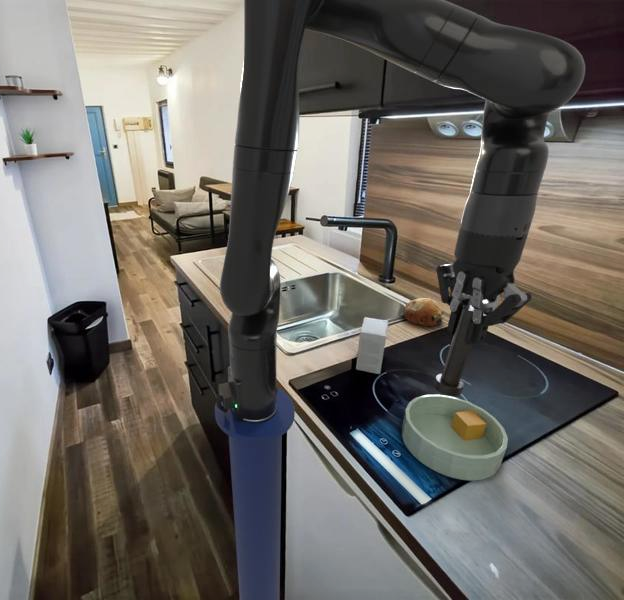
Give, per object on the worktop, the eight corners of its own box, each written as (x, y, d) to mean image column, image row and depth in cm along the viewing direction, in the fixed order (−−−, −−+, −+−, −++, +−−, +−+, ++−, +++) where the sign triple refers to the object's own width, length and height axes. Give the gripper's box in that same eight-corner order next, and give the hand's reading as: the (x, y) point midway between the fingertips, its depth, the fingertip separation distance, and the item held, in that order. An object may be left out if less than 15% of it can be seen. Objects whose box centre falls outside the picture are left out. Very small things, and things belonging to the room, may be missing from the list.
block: (463, 440, 65) (468, 426, 64) (450, 426, 69) (454, 412, 67) (482, 438, 66) (486, 423, 64) (468, 424, 69) (472, 410, 67)
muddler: (447, 398, 57) (474, 316, 51) (428, 383, 61) (450, 304, 55) (467, 393, 58) (495, 312, 52) (446, 379, 62) (471, 301, 56)
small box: (359, 352, 93) (364, 316, 89) (383, 357, 91) (388, 320, 87) (355, 369, 87) (359, 331, 82) (380, 375, 85) (386, 336, 80)
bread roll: (428, 322, 112) (425, 296, 112) (453, 323, 102) (450, 295, 102) (399, 326, 111) (396, 300, 111) (421, 328, 101) (418, 299, 101)
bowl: (446, 491, 57) (453, 469, 55) (384, 424, 71) (387, 404, 69) (522, 466, 61) (531, 444, 58) (449, 407, 74) (454, 387, 72)
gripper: (430, 218, 54) (410, 321, 61) (523, 243, 41) (484, 368, 49) (471, 213, 55) (447, 314, 63) (572, 235, 43) (528, 357, 50)
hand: (464, 337), depth 56 cm, fingers closed on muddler, 2 cm apart
